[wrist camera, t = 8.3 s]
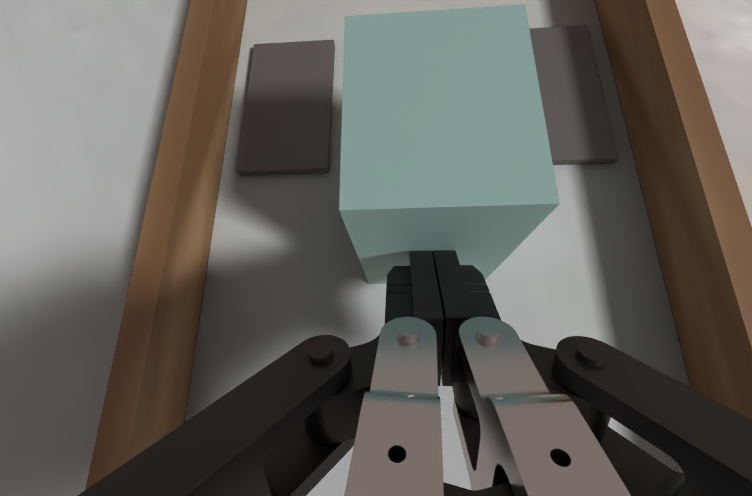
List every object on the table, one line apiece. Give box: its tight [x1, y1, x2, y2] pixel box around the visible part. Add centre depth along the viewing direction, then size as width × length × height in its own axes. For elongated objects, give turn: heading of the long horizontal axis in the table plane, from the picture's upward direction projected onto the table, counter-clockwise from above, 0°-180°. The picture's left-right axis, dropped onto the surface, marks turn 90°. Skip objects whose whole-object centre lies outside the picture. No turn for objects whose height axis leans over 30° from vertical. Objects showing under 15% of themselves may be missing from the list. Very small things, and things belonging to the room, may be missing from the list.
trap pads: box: [237, 25, 618, 175], centre depth 19 cm, size 18×8×1 cm, turn 90°
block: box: [339, 5, 560, 284], centre depth 13 cm, size 5×6×8 cm
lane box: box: [86, 0, 752, 490], centre depth 15 cm, size 22×29×6 cm
